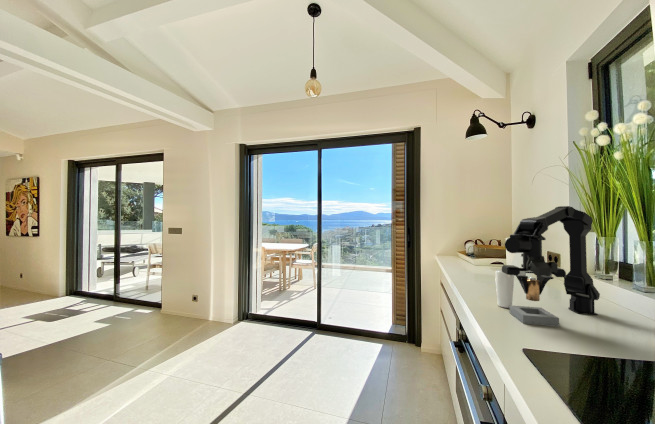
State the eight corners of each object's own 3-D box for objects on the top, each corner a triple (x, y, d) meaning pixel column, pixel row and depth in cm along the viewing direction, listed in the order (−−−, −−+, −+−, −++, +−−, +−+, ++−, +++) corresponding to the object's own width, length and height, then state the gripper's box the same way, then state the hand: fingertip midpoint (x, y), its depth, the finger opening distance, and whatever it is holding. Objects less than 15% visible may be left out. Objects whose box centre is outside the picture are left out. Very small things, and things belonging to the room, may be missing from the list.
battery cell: (536, 298, 101) (535, 277, 101) (542, 301, 97) (541, 279, 97) (524, 297, 102) (523, 276, 102) (529, 300, 98) (529, 278, 98)
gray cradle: (541, 315, 103) (541, 307, 103) (559, 326, 93) (559, 317, 93) (509, 312, 106) (509, 305, 106) (523, 323, 95) (523, 315, 95)
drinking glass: (517, 309, 110) (517, 273, 110) (499, 308, 111) (499, 272, 111) (509, 304, 116) (509, 270, 117) (492, 303, 118) (492, 269, 118)
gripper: (513, 254, 94) (514, 298, 94) (576, 256, 90) (577, 302, 90) (501, 250, 105) (501, 290, 105) (556, 252, 101) (556, 293, 100)
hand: (532, 294), depth 99 cm, fingers closed on battery cell, 4 cm apart
